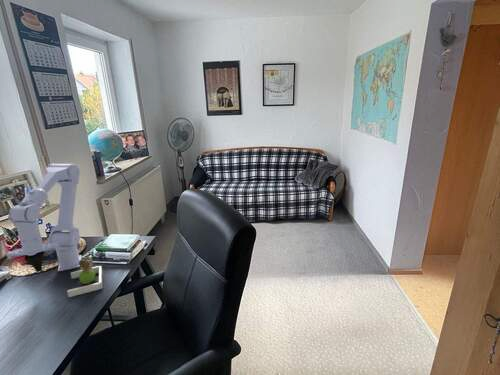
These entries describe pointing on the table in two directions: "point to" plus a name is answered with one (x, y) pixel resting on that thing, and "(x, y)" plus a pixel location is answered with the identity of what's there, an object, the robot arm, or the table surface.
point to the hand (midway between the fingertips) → (39, 270)
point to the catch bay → (89, 287)
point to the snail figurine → (86, 271)
